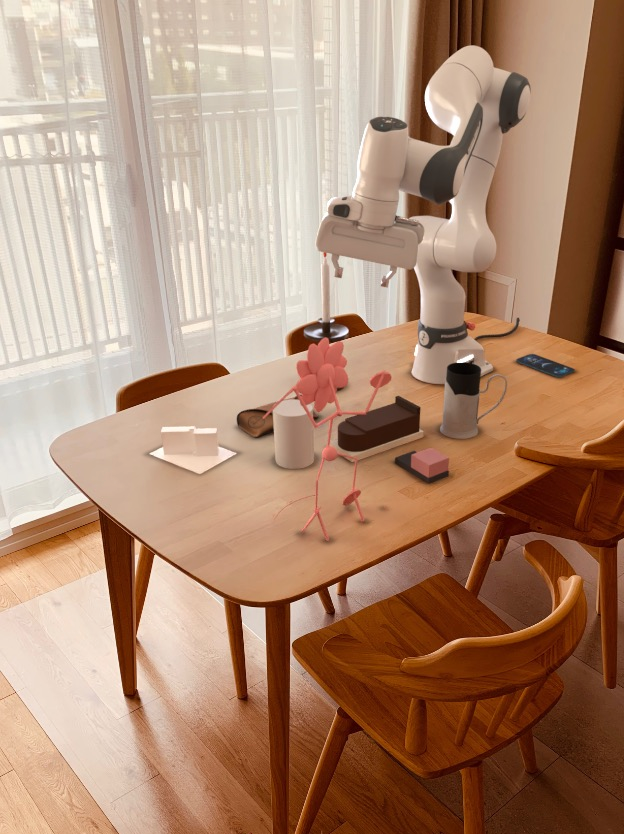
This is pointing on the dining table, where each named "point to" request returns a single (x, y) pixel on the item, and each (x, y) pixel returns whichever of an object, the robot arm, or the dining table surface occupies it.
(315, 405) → the figurine
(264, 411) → the sunglasses case
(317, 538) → the dining table surface
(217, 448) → the napkin holder
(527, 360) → the smartphone
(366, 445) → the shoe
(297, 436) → the cup
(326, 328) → the candlestick
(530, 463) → the dining table surface
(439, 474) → the two-tone stepped block
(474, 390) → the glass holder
